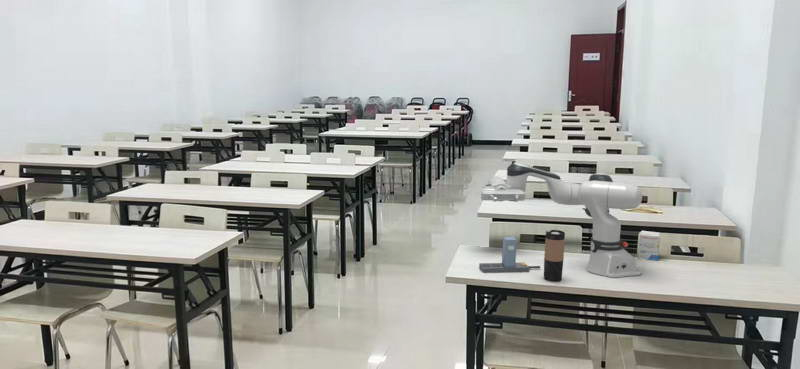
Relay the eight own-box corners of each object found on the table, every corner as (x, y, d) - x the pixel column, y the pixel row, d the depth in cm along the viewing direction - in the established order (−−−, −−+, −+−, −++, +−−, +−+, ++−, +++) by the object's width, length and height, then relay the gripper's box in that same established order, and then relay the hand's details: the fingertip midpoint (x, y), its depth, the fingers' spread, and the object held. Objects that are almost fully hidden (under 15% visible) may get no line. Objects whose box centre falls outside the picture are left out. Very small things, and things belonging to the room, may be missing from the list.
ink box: (658, 256, 278) (660, 232, 275) (657, 261, 270) (660, 236, 268) (638, 253, 281) (640, 230, 279) (637, 258, 274) (639, 234, 271)
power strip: (537, 266, 260) (537, 261, 259) (542, 271, 253) (542, 266, 252) (479, 267, 257) (479, 262, 256) (483, 272, 250) (483, 267, 250)
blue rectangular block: (512, 267, 257) (513, 236, 255) (515, 271, 253) (516, 239, 250) (501, 268, 257) (503, 237, 254) (504, 271, 252) (506, 240, 250)
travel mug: (562, 282, 239) (565, 235, 236) (543, 281, 241) (546, 233, 237) (561, 276, 246) (564, 230, 243) (542, 275, 248) (545, 229, 244)
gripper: (521, 198, 280) (528, 206, 267) (478, 197, 280) (483, 206, 266) (522, 185, 278) (529, 193, 265) (479, 185, 278) (483, 193, 265)
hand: (505, 199), depth 266 cm, fingers open, 8 cm apart
